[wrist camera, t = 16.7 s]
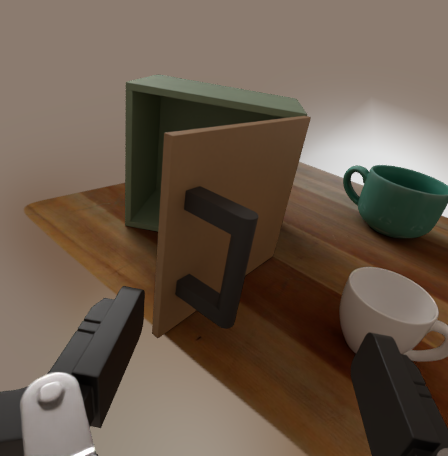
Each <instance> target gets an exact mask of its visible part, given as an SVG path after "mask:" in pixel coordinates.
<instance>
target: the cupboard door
mask: <svg viewBox="0 0 448 456" xmlns="http://www.w3.org/2000/svg"><path fill="white" fill-rule="evenodd" d="M309 122H310V117H308V116H298V117H290V118H282V119H273V120H265V121H257V122H249V123H241V124H232V125H224V126H216V127H208V128H200V129H191V130H183V131H175V132H167V133H164V148H163V164H162V181H161V197H160V213H159V230H158V246H157V262H156V279H155V295H154V311H153V328H152V334H154V335H155V336H156V337H157V338H159V337H160V336H162V335H163V334H164V333H166V332H167V331H169V330H170V329H171V328H173V327H174V326H176V325H177V324H178V323H180V322H181V321H183V320H184V319H185V318H187V317H188V316H190V315H191V314H192V313H194V312H195V311H199V312H200V313H201V314H203V315H204V316H205V317H207V318H208V319H210V320H211V321H212V322H214V323H215V324H217V325H218V326H219V327H221V328H231V327H232V326H233V325H234V323H235V318H236V314H237V309H238V305H239V301H240V296H241V292H242V287H243V283H244V279H245V275H247V274H248V273H250V272H251V271H252V270H254V269H255V268H257V267H258V266H259V265H261V264H262V263H264V262H265V261H266V260H268V259H269V258H271V257H272V256H273V255H274V252H275V248H276V244H277V241H278V237H279V233H280V229H281V226H282V222H283V218H284V215H285V211H286V207H287V203H288V200H289V196H290V192H291V189H292V185H293V181H294V178H295V174H296V170H297V166H298V163H299V159H300V155H301V152H302V148H303V144H304V141H305V137H306V133H307V129H308V126H309Z"/></svg>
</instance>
